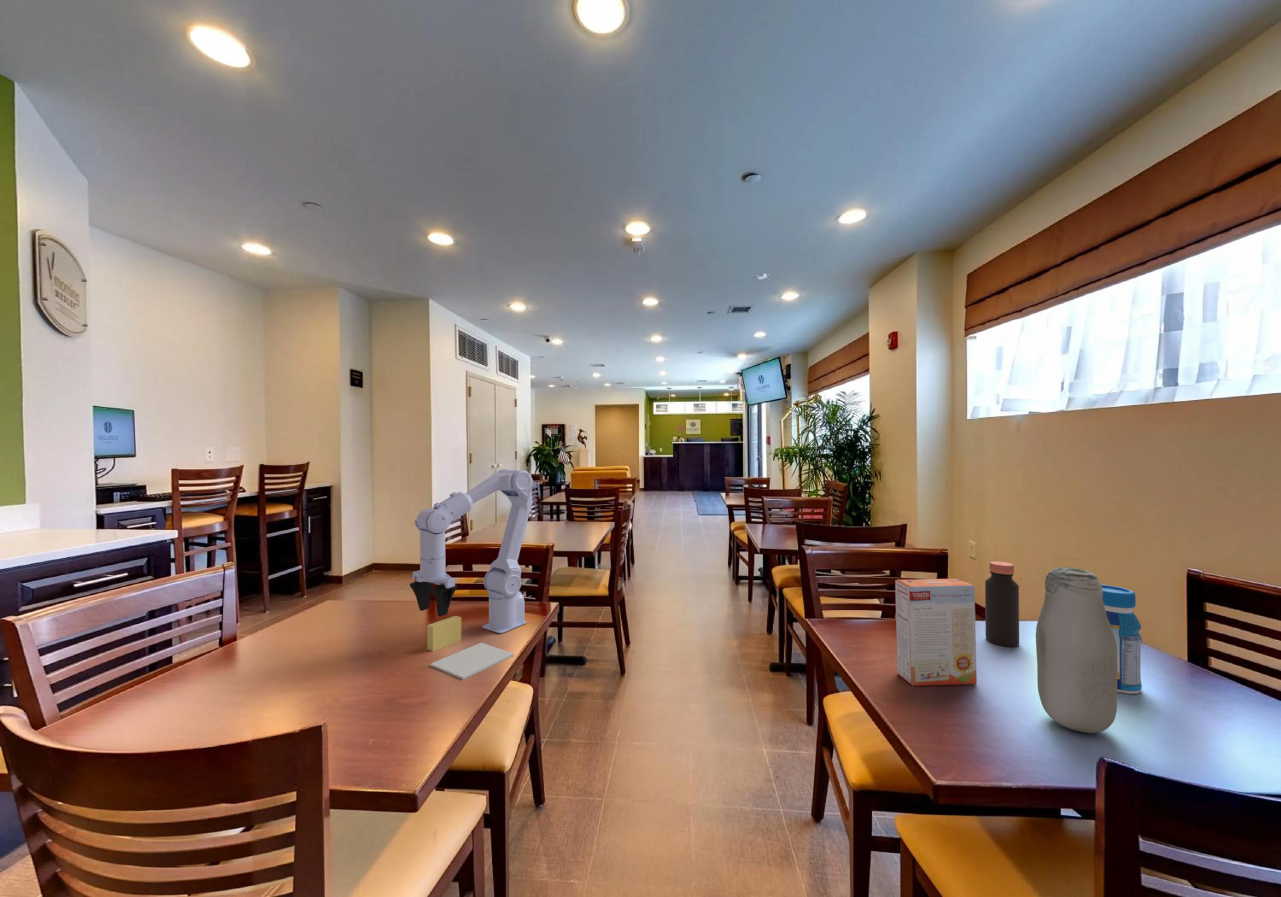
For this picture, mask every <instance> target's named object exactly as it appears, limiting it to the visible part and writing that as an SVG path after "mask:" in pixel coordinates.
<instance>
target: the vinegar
mask: <svg viewBox="0 0 1281 897" xmlns="http://www.w3.org/2000/svg"><path fill="white" fill-rule="evenodd" d="M989 573H990V574H991V575H990V576H989V577H988V578H987V579H986V580H985V582H984V594H985V595H984V596H985V597H984V598H985V600H984V602H985V603H984V607H985V610H984V612H985V614H984V615H985V622H984V624H985V639H986V640H987V641H988V642H990V643H991V644H994V645H997V646H1002V647H1005V648H1006V647H1009V648H1016V647H1018V646H1019V645H1020V591H1019V590H1020V586H1019V584H1018V583H1017V582H1016V581H1015V580H1014V579H1013V576H1014V574H1015V565H1014V564H1013V563H1010V562H1006V561H990V562H989Z"/></svg>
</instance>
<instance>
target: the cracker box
mask: <svg viewBox="0 0 1281 897" xmlns="http://www.w3.org/2000/svg"><path fill="white" fill-rule="evenodd" d="M894 584H895V585H894V586H895V592H894V593H895V622H896V623H895V630H896V635H895V636H896V669H897V670H896V673H897V674H898V676H900V677H901V678H902V679H904V680H905V681H906V682H907V683H908V684H910V685H911V686H913V687H915V686H918V687H921V686H950V685H951V686H954V685H955V686H957V685H958V686H959V685H977V675H978V674H977V643H976V642H977V641H976V640H977V636H976V605H975V604H976V600H975V599H976V598H975V596H976V595H975V585H974V584H971V583H969V582H966V581H963V580H961V579H958V578H929V579H928V578H925V579H924V578H921V579H895V580H894Z"/></svg>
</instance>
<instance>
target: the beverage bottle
mask: <svg viewBox="0 0 1281 897" xmlns="http://www.w3.org/2000/svg"><path fill="white" fill-rule="evenodd" d="M1101 586H1102V590H1103V596H1102V600H1103V603H1104V607H1105V611H1106V615H1107V618H1108V621H1109V623H1110V626H1111V628H1112V630H1113V634H1114V637H1115V641H1116V645H1117V693H1119V694H1126V695H1127V694H1128V695H1132V694H1133V695H1134V694H1139V693H1141V692H1142V686H1143V685H1142V679H1141V676H1142V675H1141V666H1142V665H1141V652H1142V651H1141V648H1142V647H1141V646H1142V644H1143V637H1142V636H1141V633H1140V631H1141V630H1142V624H1141V622H1140V620H1139V618H1138V617H1137V616H1136V614H1135V613H1134V612H1133V611H1132V610H1135V608H1136V605H1137V604H1136V603H1137V602H1136V598H1137V597H1136V593H1135V591H1133V590H1131V589H1128V588H1124V587H1121V586H1120V587H1119V586H1114V585H1109V584H1108V585H1107V584H1101Z"/></svg>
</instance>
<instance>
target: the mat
mask: <svg viewBox="0 0 1281 897" xmlns="http://www.w3.org/2000/svg"><path fill="white" fill-rule="evenodd" d="M514 656H515V653H513V652H510V651H507V650H505V649H501V648H498V647H495V646H492V645H489V644H487V643H484V642H479V643H477V644H474V645H472V646H469V647H468V648H464V649H463V650H460V651H457V652H455V653H453V654H450V655H449V656H446V657H444V658H441V659H438V660H436V661H434V662H432V663H430V667H432V668H435V669H437V670H439V671H442V672H444V673H446V674H449V675H451V676H454V677H456V678H458V679H460V680H462V681H463V680H465V679H468V678H470V677H472V676H474V675H476V674H479V673H480V672H483V671H485V670H487V669H489V668H492V667H493V666H495V665H497V664H499V663H501V662H504V661H507V660H508V659H510V658H512V657H514Z"/></svg>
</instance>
